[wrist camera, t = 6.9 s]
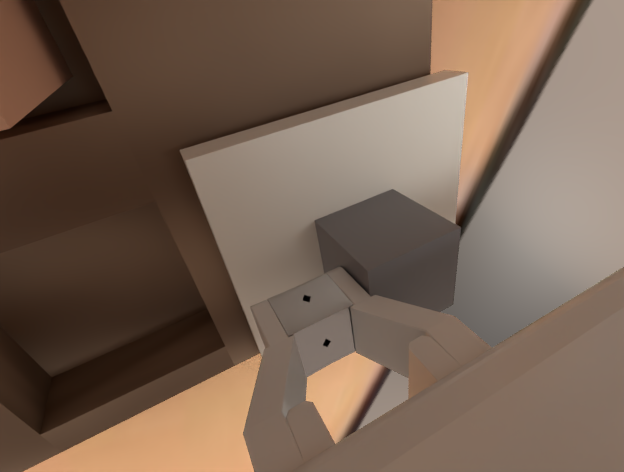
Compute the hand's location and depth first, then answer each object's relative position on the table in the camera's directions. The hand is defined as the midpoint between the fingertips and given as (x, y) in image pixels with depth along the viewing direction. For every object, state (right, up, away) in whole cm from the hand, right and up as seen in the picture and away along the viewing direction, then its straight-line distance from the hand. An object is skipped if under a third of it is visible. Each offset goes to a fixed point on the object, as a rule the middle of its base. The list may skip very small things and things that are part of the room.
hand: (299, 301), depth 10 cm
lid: (+2, +2, +3) cm, 4 cm away
